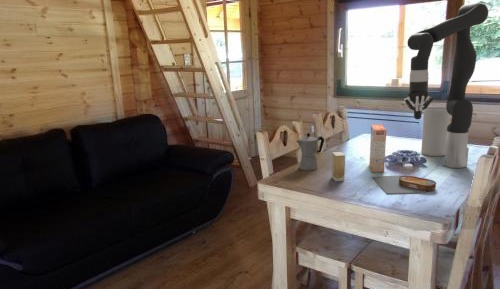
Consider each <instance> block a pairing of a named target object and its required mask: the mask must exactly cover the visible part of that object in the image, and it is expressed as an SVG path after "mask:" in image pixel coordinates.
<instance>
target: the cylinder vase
mask: <svg viewBox="0 0 500 289" xmlns="http://www.w3.org/2000/svg"><path fill="white" fill-rule="evenodd" d="M450 116H451V115H450V114H449V113H448V112H447V110H446V106H428V107H427V108H426V109H424V110H423V120H422V122H423V123H422V139H421V154H422V155H425V156H428V157H443V156H444V157H445V148H446V135H447V126H448V125H449V124H450Z"/></svg>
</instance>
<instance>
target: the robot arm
mask: <svg viewBox="0 0 500 289" xmlns="http://www.w3.org/2000/svg"><path fill="white" fill-rule="evenodd" d="M488 17H489V8H488V6H487V5H485V4H484V3H469V4H464V5H462V6H461V7H460V8H459V9H458V10H457V16H456V17H452V18H449V19H446V20H443V21H441V22H439V23H436V24H434V25H432V26H431V27H429V28H427V29H423V30H420V31H417V32H415V33H413V34H411V35H410V36H409V37H408V40H407V47H408V48H409V49H410V50H412V51H417V54H416V55H414V56H412V57H411V59H410V72H409V88H408V89H409V90H408V91H409V93H408V94H407V95H408V96H407V97H406V98H403V100H402V101H403V103H405V105H406V106H407V107H408V109H409V110H412V111H413V117H414V119H415V120H420V119H421V118H422V113H423V112H422V111H424V109H426V108H427V107H429V106H430V104H431V103H432V101H434V98H433V97H431V96H430V95H429V92H428V90H429V59H430V56H431V53H432V50H433V47H434V44H435V43H438V42H440V41H442V40H444V39H446V38H448V37H449V36H452V35H453V34H455V35H456V36H455V37H456V40H455V48H454V55H453V62H452V69H451V70H452V71H451V77H450V78H451V79H450V80H451V81H450V87H449V92H448V96H447V101H446V103H445V107H446V110H447V112H448V113H449V114H450V116H451V121H450V122H449V125H448V126H447V135H446V148H445V155H444V163H443V165H444V166H445V167H448V168H450V169H451V168H453V169H463V168H467V167H468V159H469V150H470V147H468V140H469V129H470V128H471V125H472V119H473V114H474V106H473V103H472V102H471V100H469V99H468V98H466V89H467V86H468V84H469V82H470V80H471V78H472V77H473V75H474V72H475V70H476V64H477V51H476V49H475V47H474V45H473V41H472V40H471V39H472V38H471V27H474V26H478V25H481V24H483V23H484V22H485V21H487V19H488ZM411 102H412V103H411Z"/></svg>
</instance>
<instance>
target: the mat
mask: <svg viewBox="0 0 500 289" xmlns="http://www.w3.org/2000/svg"><path fill="white" fill-rule="evenodd" d="M400 176H408V175H407V174H403V175H400V174H399V175H375V176H373V175H371V178H372V180H373V181H374V182H375V183H376V184H377V185H378V187H380V188H381V190H382V191H383V192H384V193H385V194H386V195H405V194H407V195H408V194H409V195H410V194H427V193H428V191H423V190H418V189H414V188H409V187H405V186H402V185H400V184H399V177H400Z"/></svg>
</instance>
